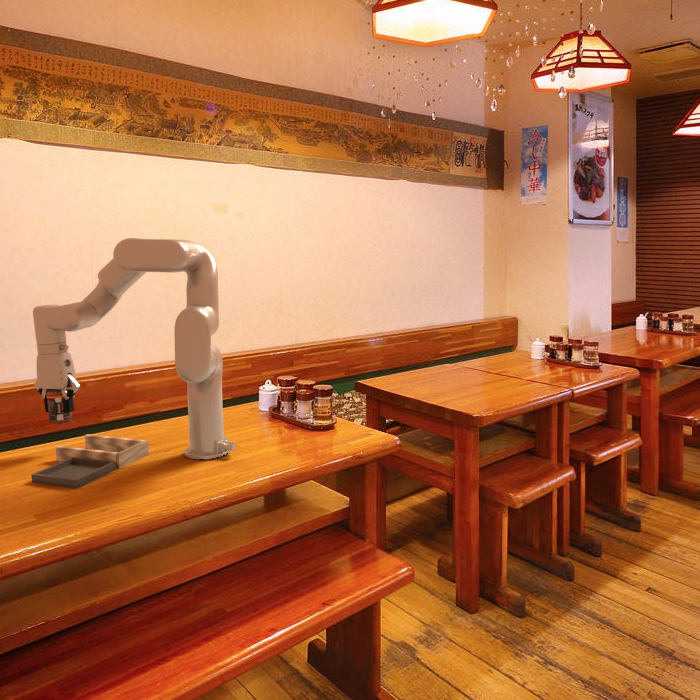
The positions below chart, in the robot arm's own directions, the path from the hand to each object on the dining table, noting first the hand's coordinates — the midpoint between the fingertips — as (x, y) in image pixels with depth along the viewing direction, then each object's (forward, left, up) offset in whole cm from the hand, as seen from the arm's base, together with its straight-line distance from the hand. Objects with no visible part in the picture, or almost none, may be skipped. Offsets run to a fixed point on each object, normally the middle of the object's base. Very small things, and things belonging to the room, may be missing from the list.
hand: (59, 411), depth 175 cm
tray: (-17, +14, -12) cm, 25 cm away
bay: (-14, 0, -12) cm, 19 cm away
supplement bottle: (0, 0, -3) cm, 3 cm away
